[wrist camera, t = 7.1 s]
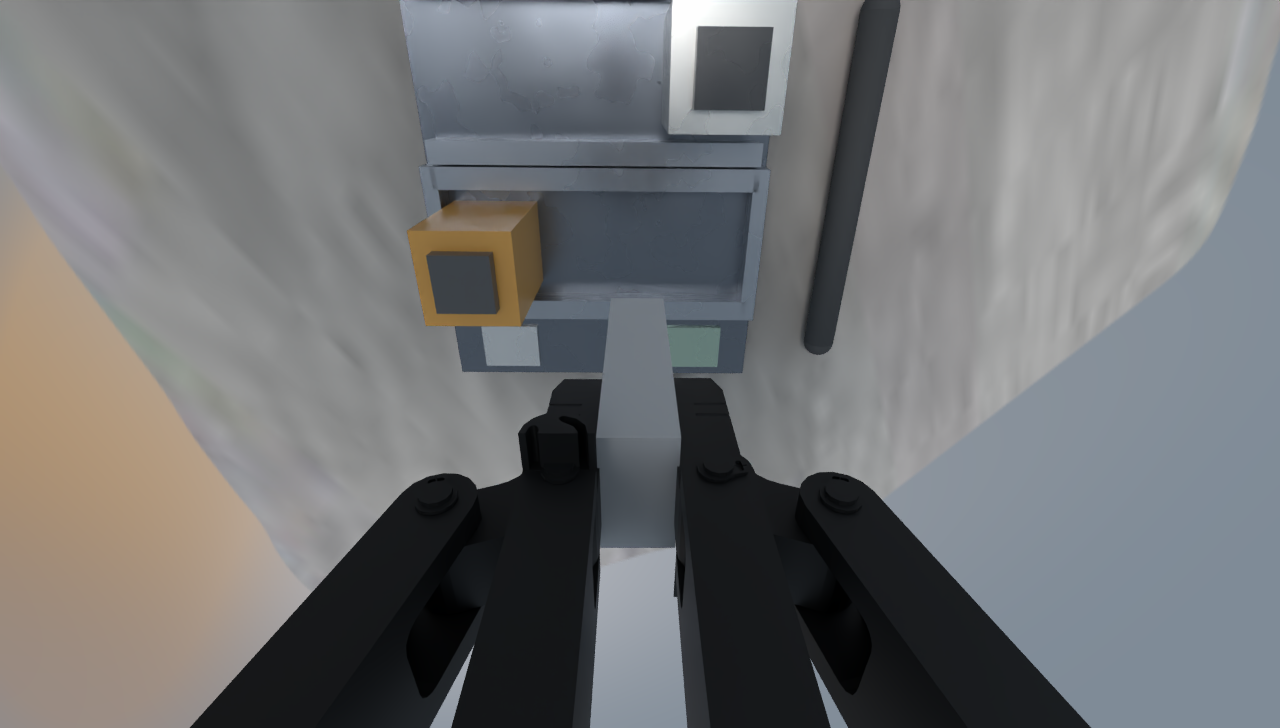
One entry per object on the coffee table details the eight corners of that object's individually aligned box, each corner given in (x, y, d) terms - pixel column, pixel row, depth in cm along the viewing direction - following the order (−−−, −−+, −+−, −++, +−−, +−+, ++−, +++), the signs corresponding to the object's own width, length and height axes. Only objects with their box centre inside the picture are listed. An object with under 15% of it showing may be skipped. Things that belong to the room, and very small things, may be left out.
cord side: (858, -9, 23) (873, -15, 22) (894, -9, 23) (911, -15, 22) (798, 347, 32) (806, 359, 30) (825, 347, 32) (834, 359, 30)
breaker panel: (410, -34, 23) (297, -93, 15) (777, -29, 23) (847, -86, 15) (472, 355, 32) (420, 440, 24) (736, 357, 32) (767, 442, 24)
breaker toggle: (454, 200, 26) (400, 234, 20) (536, 201, 26) (507, 235, 20) (466, 279, 27) (420, 331, 22) (543, 279, 27) (518, 332, 22)
